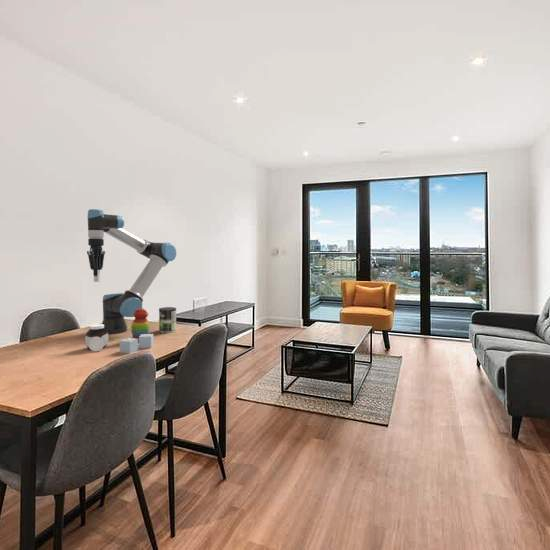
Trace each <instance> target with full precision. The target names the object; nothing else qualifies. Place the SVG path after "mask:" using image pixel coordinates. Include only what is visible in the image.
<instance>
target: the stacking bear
mask: <svg viewBox="0 0 550 550" xmlns="http://www.w3.org/2000/svg"><path fill="white" fill-rule="evenodd" d="M148 316H149V312H148V311H147V310H146V309H144V308H143V307H142V308H140V309H137V310H135V312H134V317H133V318H134V319H133V321H132V323H131V328H130V330H131V334H132V338H134V339H138V343H139V336H140V335H141V334H150V324H149V321H148Z"/></svg>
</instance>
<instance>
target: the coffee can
mask: <svg viewBox="0 0 550 550" xmlns="http://www.w3.org/2000/svg"><path fill="white" fill-rule="evenodd" d="M158 313H159V314H158V316H159V317H158V318H159V319H158V325H159V327H158V332H160V333H162V334H167V333H175V332H176V331H177V308H176V307H174V306H171V307H170V306H165V307H159V308H158Z"/></svg>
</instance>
